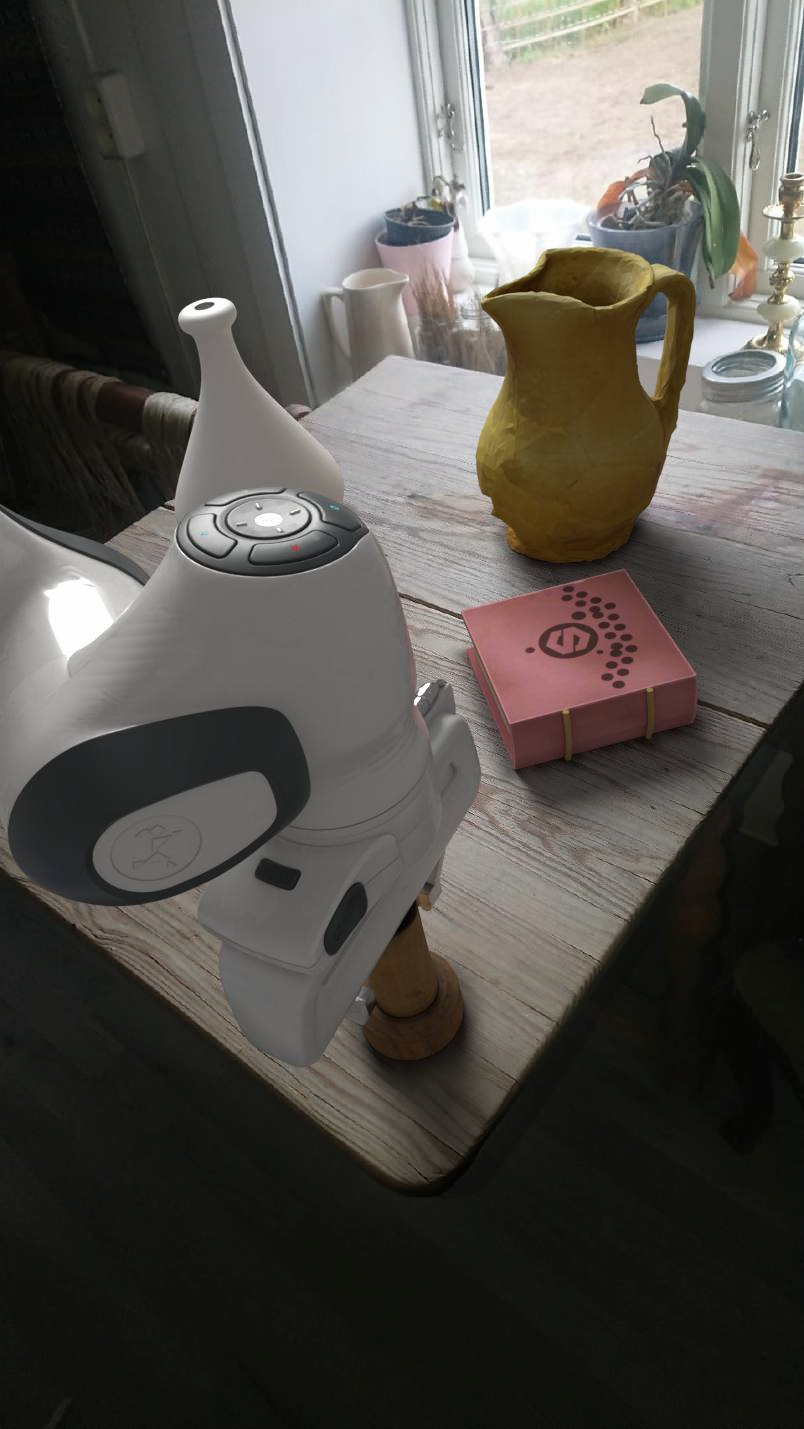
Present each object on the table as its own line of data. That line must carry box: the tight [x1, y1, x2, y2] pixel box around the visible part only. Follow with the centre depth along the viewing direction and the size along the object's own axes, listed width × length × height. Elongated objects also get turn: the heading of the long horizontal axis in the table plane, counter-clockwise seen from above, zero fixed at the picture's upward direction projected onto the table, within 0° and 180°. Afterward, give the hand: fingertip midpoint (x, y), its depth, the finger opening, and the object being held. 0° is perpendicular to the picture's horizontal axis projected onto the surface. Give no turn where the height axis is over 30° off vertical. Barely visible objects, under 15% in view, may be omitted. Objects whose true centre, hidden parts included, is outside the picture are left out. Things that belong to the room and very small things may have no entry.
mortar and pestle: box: [360, 899, 465, 1061], centre depth 55 cm, size 7×6×18 cm
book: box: [460, 568, 699, 771], centre depth 78 cm, size 14×15×5 cm
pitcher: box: [474, 246, 697, 564], centre depth 88 cm, size 17×19×25 cm
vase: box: [174, 297, 345, 525], centre depth 94 cm, size 17×17×25 cm
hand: (393, 952), depth 57 cm, fingers open, 7 cm apart
